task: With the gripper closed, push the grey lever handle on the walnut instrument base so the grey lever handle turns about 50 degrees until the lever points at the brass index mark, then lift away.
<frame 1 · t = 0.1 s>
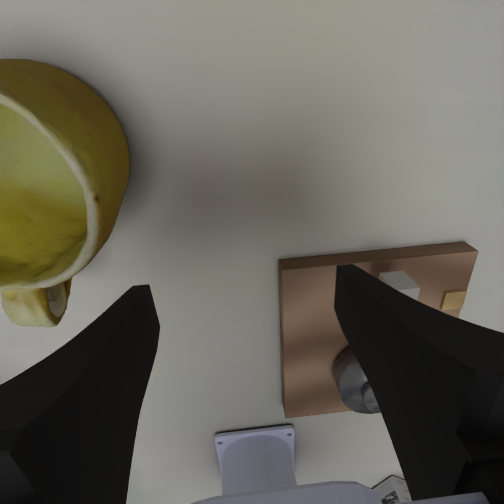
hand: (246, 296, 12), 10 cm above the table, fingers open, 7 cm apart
light bulb box: (399, 494, 42), on the table
mug: (65, 179, 20), on the table
grey lever handle: (381, 349, 24), point 3 cm above the table, hinge at 0.0°
instrument base: (362, 333, 27), on the table
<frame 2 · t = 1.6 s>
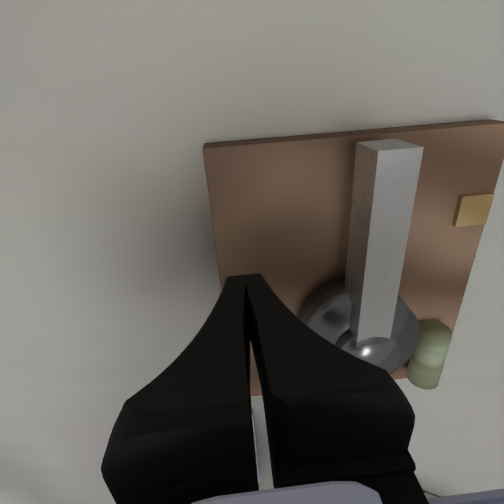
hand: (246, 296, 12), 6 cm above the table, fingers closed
grey lever handle: (364, 282, 15), point 3 cm above the table, hinge at 0.0°
instrument base: (339, 272, 19), on the table
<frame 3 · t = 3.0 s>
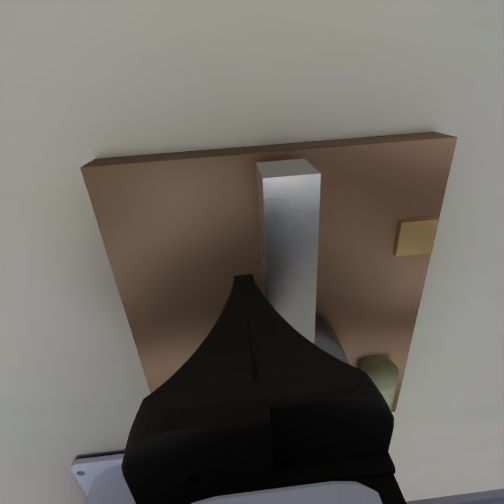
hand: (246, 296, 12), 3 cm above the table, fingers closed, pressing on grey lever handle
grey lever handle: (285, 323, 13), point 3 cm above the table, hinge at 0.0°, touching gripper
instrument base: (274, 302, 17), on the table
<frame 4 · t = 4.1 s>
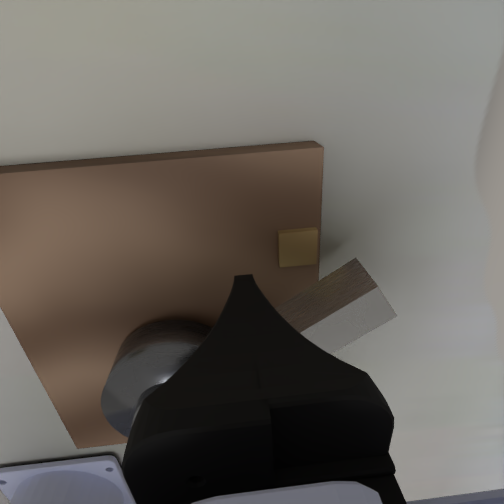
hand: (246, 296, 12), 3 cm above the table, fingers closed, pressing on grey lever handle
grey lever handle: (235, 357, 14), point 3 cm above the table, hinge at -57.6°, touching gripper
instrument base: (176, 312, 17), on the table
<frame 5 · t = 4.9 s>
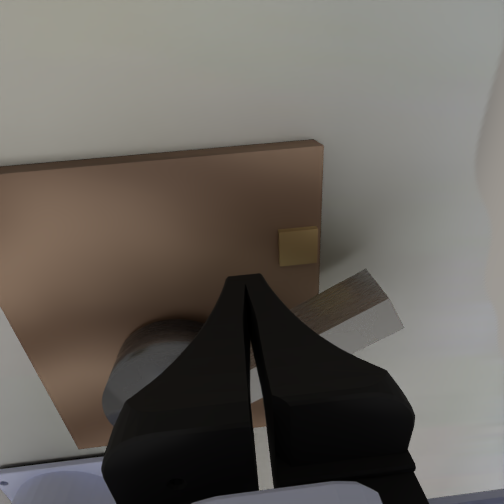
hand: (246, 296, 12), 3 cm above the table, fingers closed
grey lever handle: (240, 360, 14), point 3 cm above the table, hinge at -61.8°
instrument base: (177, 312, 17), on the table
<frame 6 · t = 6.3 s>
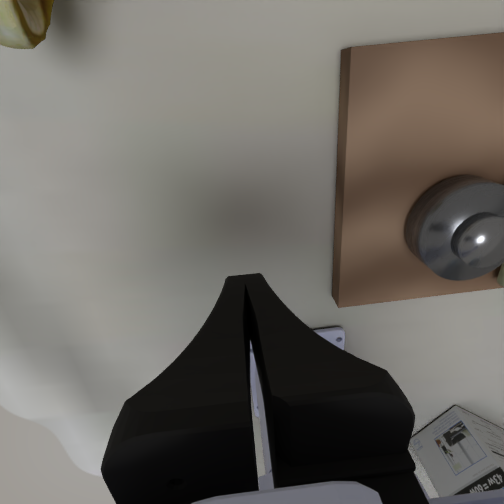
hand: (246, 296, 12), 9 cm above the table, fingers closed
light bulb box: (460, 433, 35), on the table
instrument base: (441, 183, 21), on the table
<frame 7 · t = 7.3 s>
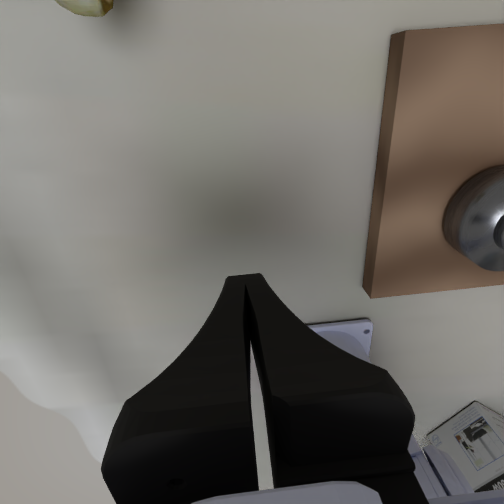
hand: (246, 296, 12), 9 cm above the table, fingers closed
light bulb box: (477, 430, 35), on the table
instrument base: (479, 174, 21), on the table
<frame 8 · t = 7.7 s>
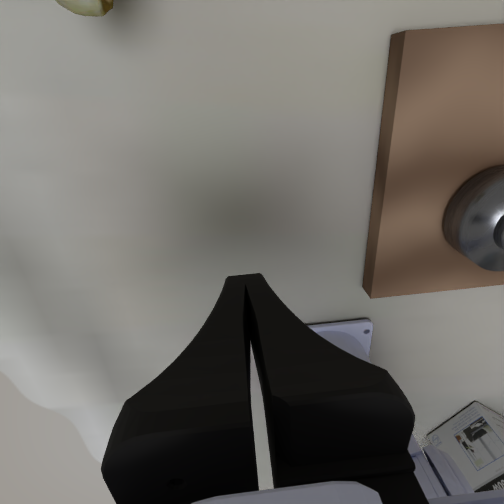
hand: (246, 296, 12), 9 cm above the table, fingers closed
light bulb box: (477, 430, 35), on the table
instrument base: (479, 174, 21), on the table
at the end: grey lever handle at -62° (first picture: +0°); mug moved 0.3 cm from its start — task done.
